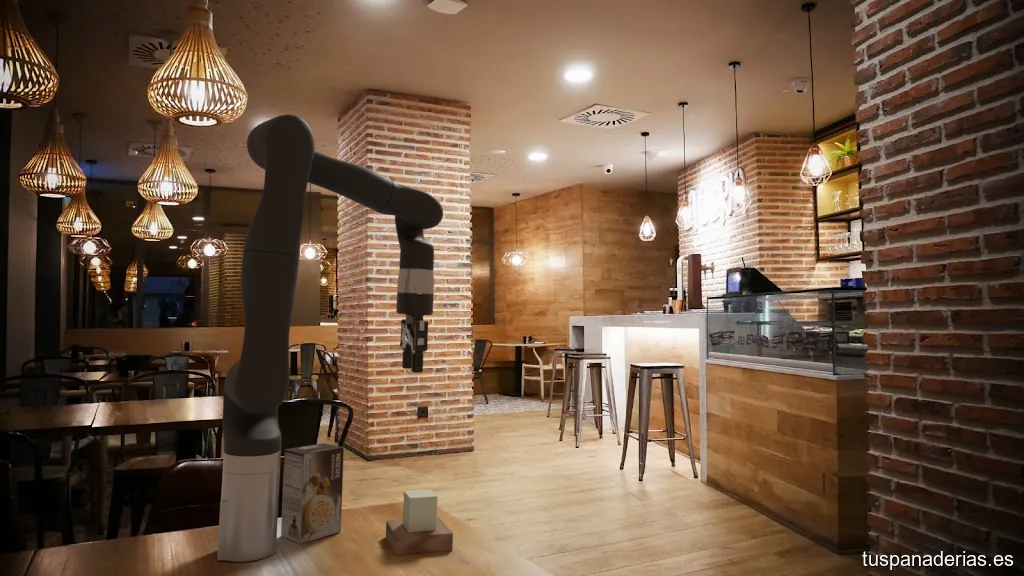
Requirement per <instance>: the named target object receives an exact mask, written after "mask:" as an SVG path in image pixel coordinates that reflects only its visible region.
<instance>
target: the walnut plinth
mask: <svg viewBox="0 0 1024 576" xmlns="http://www.w3.org/2000/svg"><path fill="white" fill-rule="evenodd" d="M385 539H386V540H387V542H388V543H389V545H390V548H391V549H392V550H393V552H394V554H395V556H397V557H398V556H406V555H417V554H426V553H436V552H437V553H438V552H446V551H449V552H450V551H453V543H454V542H453V539H454V533H453V531H452V530H451V529H450V528H449V527H448V525H446V523H444V522H443V520H442V519H441V518H440V517H439V516H437V519H436V530H429V531H418V532H408V531H407V529H406V528H405V526H404V525H403V518H402V519H390V520H386V521H385Z"/></svg>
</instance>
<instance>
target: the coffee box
mask: <svg viewBox="0 0 1024 576" xmlns="http://www.w3.org/2000/svg"><path fill="white" fill-rule="evenodd" d="M344 450H345V448H344V446H338V445H333V444H329V443H323V442H322V443H317V444H312V445H311V444H310V445H303V446H297V447H291V448H285V449H284V451H283V478H282V481H283V482H282V500H281V501H282V502H281V523H280V524H281V527H280V536H281V537H282V536H283V537H282V538H284V537H285V539H287V538H288V539H287V540H289V541H290V540H291V541H292V542H295V543H297V544H304V543H308V542H311V541H316V540H317V539H321V538H324V537H329V536H330V535H331V536H332V535H334V534H338V533H341V532H342V511H343V510H342V507H343V505H342V504H343V486H344V485H343V477H344Z"/></svg>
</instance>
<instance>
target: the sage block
mask: <svg viewBox="0 0 1024 576" xmlns="http://www.w3.org/2000/svg"><path fill="white" fill-rule="evenodd" d="M402 505H403V506H402V508H403V510H402V519H403V525H404V526H405V528H406V529H407V531H408V532H418V531H429V530H436V519H437V517H438V516H437V515H438V513H437V512H438V496H437V494H436V493H435V492H434V491H433V490H432V489H431V488H429V489H412V490H411V489H410V490H404V491H403V504H402Z"/></svg>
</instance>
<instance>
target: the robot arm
mask: <svg viewBox="0 0 1024 576" xmlns="http://www.w3.org/2000/svg"><path fill="white" fill-rule="evenodd" d="M246 148H247V153H248V155H249V157H250V158H251V160H252V161H253V162H254V163H255V164H256V165H257V166H258V167H260V168H261V169H262V170H265V171H264V180H263V181H264V183H263V190H262V194H261V198H260V201H259V203H258V205H257V208H256V210H255V213H254V215H253V218H252V220H251V221H250V224H249V227H248V230H247V233H246V235H245V239H244V242H243V243H244V244H243V252H242V259H241V267H240V269H241V271H240V292H241V304H242V312H243V318H244V333H243V342H242V347H241V353H240V359H239V360H237V361H236V362H235V363H233V364H232V365H231V366H230V368H229V369H228V371H227V373H226V375H225V377H224V378H225V380H224V383H223V385H224V386H223V395H222V396H223V397H222V398H223V399H222V401H223V402H222V424H221V425H222V435H223V461H222V476H221V477H222V479H221V480H222V481H221V495H220V496H221V497H220V502H219V503H220V505H219V507H220V508H219V522H218V524H219V525H218V543H217V561H228V562H242V563H243V562H251V561H257V560H262V559H265V558H268V557H271V556H272V555H273V554H275V553H276V551H277V541H278V535H277V534H278V519H279V518H278V517H279V499H280V498H279V497H280V496H279V495H280V478H281V463H282V462H281V460H282V458H281V455H282V439H283V437H282V432H281V429H280V425H279V410H278V409H279V407H280V406H281V405H282V404H283V402H284V401H285V399H286V396H287V395H288V391H289V386H290V330H291V322H292V317H293V312H294V311H293V310H294V303H295V296H296V288H297V281H298V273H299V265H300V263H299V262H300V253H301V250H300V249H301V239H302V228H303V220H304V218H303V217H304V208H305V199H306V192H307V188H308V184H312V185H314V186H316V187H320V188H323V189H325V190H327V191H330V192H333V193H335V194H336V195H337V194H338V195H339V196H341V197H344V198H347V199H349V200H351V201H353V202H355V203H357V204H360V205H361V206H363V207H365V208H368V209H370V210H372V211H375V213H376V212H377V213H378V214H381V215H384V216H385V215H386V216H388V215H389V216H394V224H395V229H396V230H395V231H396V235H397V241H398V245H399V249H400V252H399V267H398V269H399V270H398V277H397V284H396V285H397V287H396V289H397V290H396V307H395V308H396V309H395V310H396V314H397V315H405V318H402V319H401V322H400V323H401V325H400V338H399V339H400V342H399V347H400V348H401V351H402V363H401V368H403V369H405V370H411V371H410V372H412V373H417V374H419V373H423V371H424V354H426V352H427V351H428V340H429V339H428V337H429V322H428V320H424V316H432V315H433V314H434V297H435V296H434V295H435V276H434V267H435V265H434V264H435V248H434V246H433V245H434V244H432V243H431V242H429V241H426V240H425V233H424V230H428V229H432V228H435V227H437V226H438V225H439V224H440V223H442V220H443V217H444V210H443V206H442V203H441V202H440V201H439V200H438V199H437V198H436V196H434V195H432V194H430V193H428V192H427V191H424V190H421V189H419V188H418V189H417V188H414V187H413V186H412V187H411V186H409V185H405V184H401V183H398V182H396V181H394V180H393V179H391V178H389V177H386V176H385V175H383V174H381V173H379V172H377V171H375V170H373V169H370V168H367V167H365V166H363V165H359V164H355V163H353V162H348V161H345V160H341V159H337V158H335V157H331V156H329V155H326V154H324V153H321V152H319V151H317V150H316V149H315V137H314V134H313V131H312V129H311V127H310V126H309V124H308V123H307V122H306V120H304V119H303V118H301V117H300V116H298V115H295V114H283V115H277V116H275V117H273V118H270V119H268V120H266V121H265V120H264V121H263V122H261V123H259V124H257V125H256V126H255V127H253V129H251V130H250V132H249V134H248V136H247V140H246Z"/></svg>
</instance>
